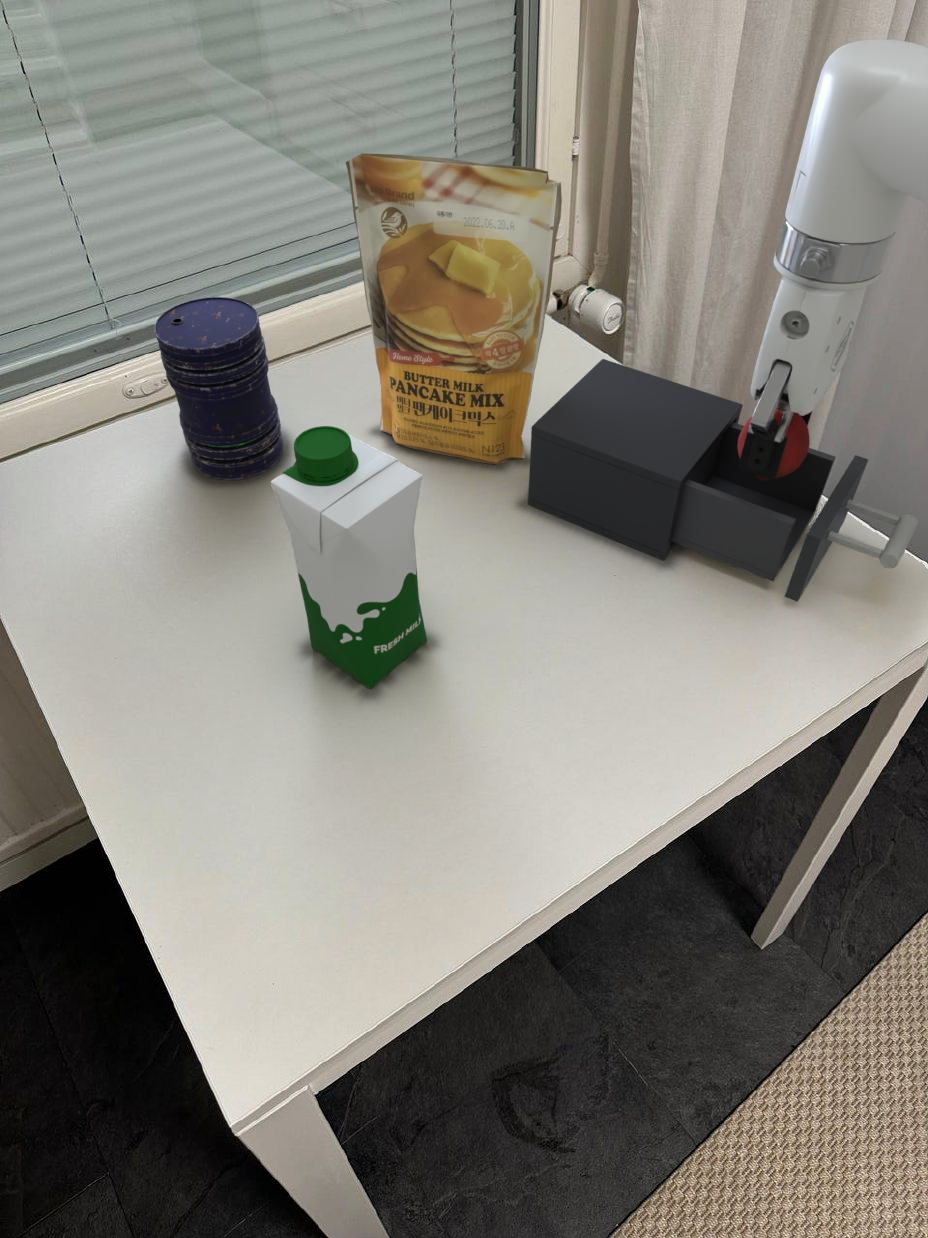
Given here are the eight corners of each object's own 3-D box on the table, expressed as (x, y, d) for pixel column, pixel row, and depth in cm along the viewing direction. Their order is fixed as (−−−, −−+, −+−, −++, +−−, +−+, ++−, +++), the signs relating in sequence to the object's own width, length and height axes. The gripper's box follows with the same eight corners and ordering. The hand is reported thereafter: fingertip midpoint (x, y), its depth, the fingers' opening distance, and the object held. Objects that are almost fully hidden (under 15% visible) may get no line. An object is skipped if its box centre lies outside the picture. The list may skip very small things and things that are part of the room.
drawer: (907, 545, 82) (938, 482, 77) (866, 630, 75) (896, 567, 70) (709, 473, 90) (724, 411, 84) (654, 544, 83) (667, 481, 77)
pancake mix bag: (384, 406, 100) (360, 138, 80) (547, 438, 96) (567, 163, 75) (360, 440, 96) (328, 166, 75) (530, 475, 91) (545, 194, 71)
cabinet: (722, 482, 90) (742, 404, 83) (664, 561, 83) (680, 481, 76) (593, 435, 96) (602, 358, 89) (527, 504, 88) (531, 426, 81)
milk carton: (368, 592, 80) (344, 402, 66) (443, 641, 76) (435, 449, 61) (295, 648, 76) (251, 458, 61) (371, 703, 72) (343, 513, 57)
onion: (742, 450, 82) (763, 373, 76) (805, 470, 80) (831, 392, 74) (720, 485, 78) (740, 407, 72) (785, 506, 76) (810, 428, 70)
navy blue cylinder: (294, 426, 98) (271, 298, 87) (272, 483, 91) (243, 351, 80) (206, 422, 98) (172, 294, 87) (177, 477, 92) (137, 346, 81)
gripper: (846, 311, 57) (777, 523, 71) (918, 215, 67) (846, 417, 80) (735, 281, 60) (689, 490, 74) (820, 193, 70) (766, 392, 83)
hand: (771, 450), depth 77 cm, fingers closed on onion, 5 cm apart
